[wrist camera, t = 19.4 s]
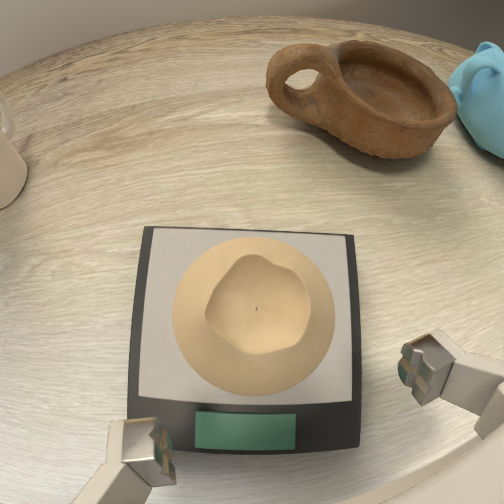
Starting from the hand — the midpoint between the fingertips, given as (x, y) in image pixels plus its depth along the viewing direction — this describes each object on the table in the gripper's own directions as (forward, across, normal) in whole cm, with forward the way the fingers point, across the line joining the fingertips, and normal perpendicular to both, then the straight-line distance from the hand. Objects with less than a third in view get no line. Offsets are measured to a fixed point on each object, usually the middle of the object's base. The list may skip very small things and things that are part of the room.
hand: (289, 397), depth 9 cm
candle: (+9, 0, +4) cm, 10 cm away
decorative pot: (+23, -39, -5) cm, 45 cm away
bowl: (+23, -15, -6) cm, 28 cm away
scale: (+11, 0, +7) cm, 13 cm away
